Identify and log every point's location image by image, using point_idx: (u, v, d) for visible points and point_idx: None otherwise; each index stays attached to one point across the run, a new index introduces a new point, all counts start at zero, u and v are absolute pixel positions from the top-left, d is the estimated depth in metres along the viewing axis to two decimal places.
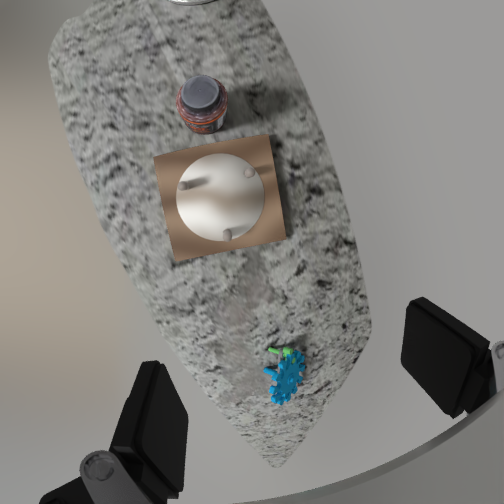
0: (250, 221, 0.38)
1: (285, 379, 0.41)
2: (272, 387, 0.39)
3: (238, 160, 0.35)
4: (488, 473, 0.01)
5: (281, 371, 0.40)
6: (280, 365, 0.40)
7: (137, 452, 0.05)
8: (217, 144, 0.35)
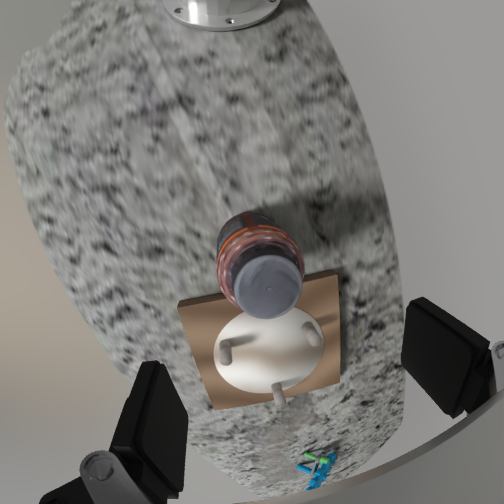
0: (304, 372, 0.29)
1: (319, 480, 0.33)
2: None
3: (296, 312, 0.27)
4: (488, 473, 0.01)
5: (316, 476, 0.32)
6: (317, 474, 0.32)
7: (137, 452, 0.05)
8: None
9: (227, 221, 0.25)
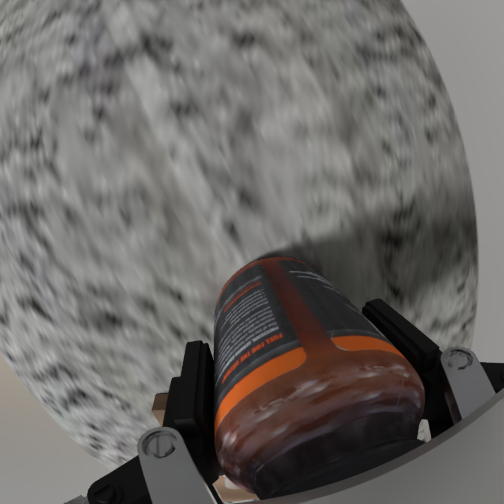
0: None
1: None
2: None
3: None
4: (488, 473, 0.01)
5: None
6: None
7: (197, 424, 0.06)
8: None
9: (234, 275, 0.12)
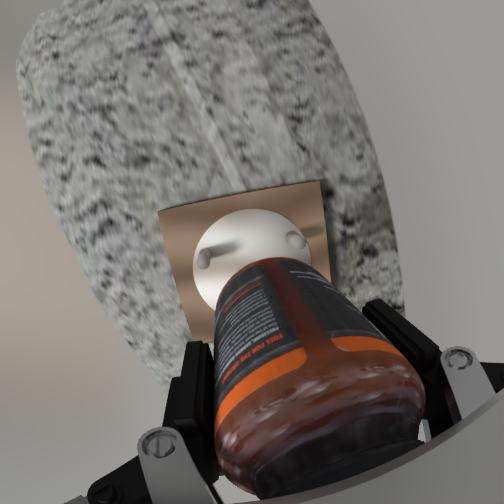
0: None
1: None
2: None
3: (279, 219, 0.26)
4: (488, 473, 0.01)
5: None
6: None
7: (197, 424, 0.06)
8: (249, 195, 0.26)
9: (234, 275, 0.12)
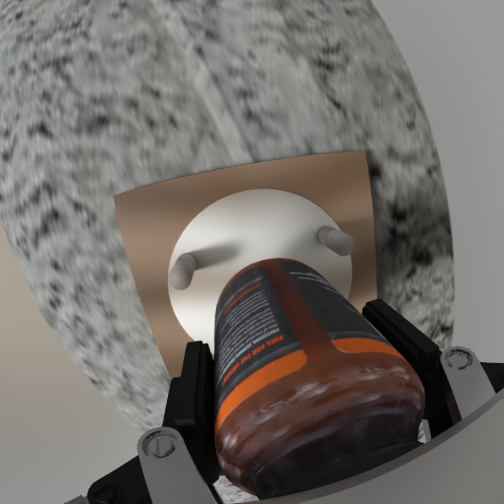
0: None
1: None
2: None
3: (306, 206, 0.16)
4: (488, 473, 0.01)
5: None
6: None
7: (197, 424, 0.06)
8: (259, 167, 0.15)
9: (234, 276, 0.12)
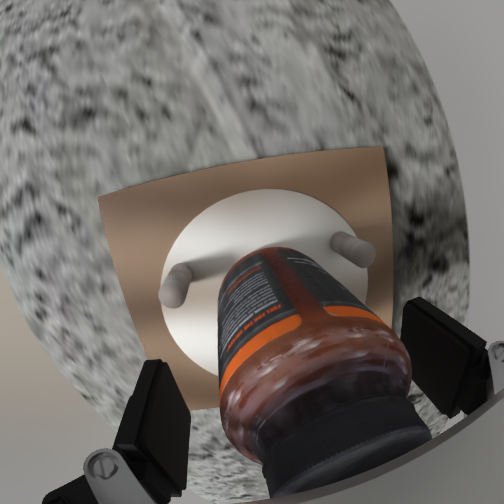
0: None
1: None
2: None
3: (318, 209, 0.14)
4: (488, 473, 0.01)
5: None
6: None
7: (141, 450, 0.05)
8: (265, 163, 0.13)
9: (236, 263, 0.13)
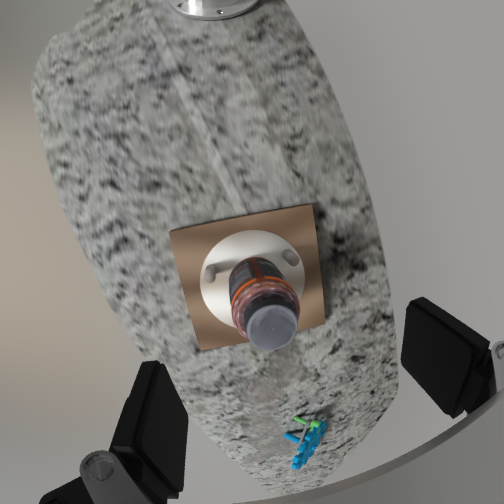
0: None
1: (308, 448, 0.34)
2: (296, 457, 0.32)
3: (276, 238, 0.30)
4: (488, 473, 0.01)
5: (306, 442, 0.34)
6: (307, 438, 0.33)
7: (137, 452, 0.05)
8: (250, 218, 0.29)
9: (237, 264, 0.29)
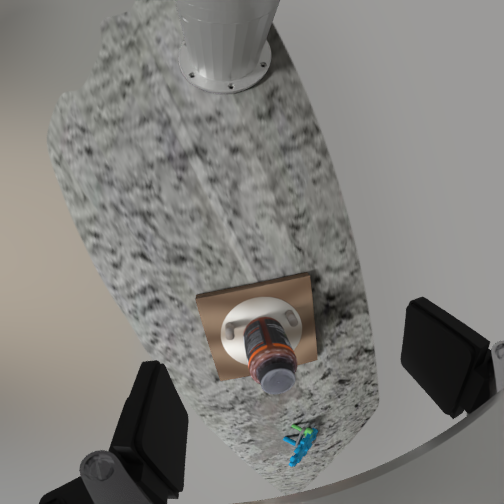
0: None
1: (302, 450, 0.43)
2: (293, 457, 0.41)
3: (280, 302, 0.38)
4: (488, 473, 0.01)
5: (301, 445, 0.43)
6: (302, 442, 0.42)
7: (137, 452, 0.05)
8: (260, 288, 0.37)
9: (250, 322, 0.37)
